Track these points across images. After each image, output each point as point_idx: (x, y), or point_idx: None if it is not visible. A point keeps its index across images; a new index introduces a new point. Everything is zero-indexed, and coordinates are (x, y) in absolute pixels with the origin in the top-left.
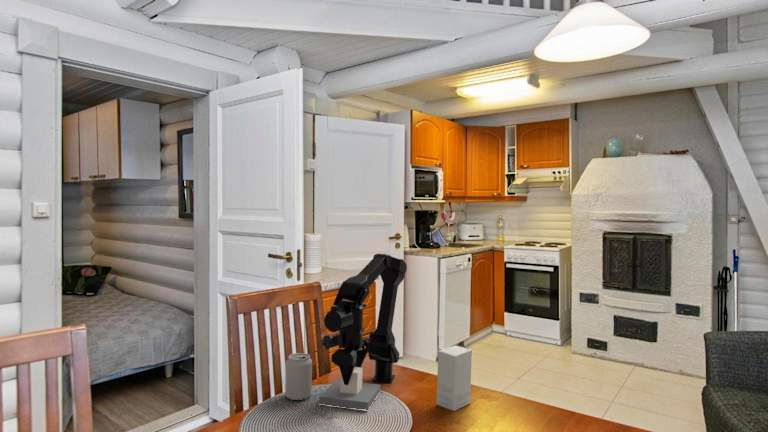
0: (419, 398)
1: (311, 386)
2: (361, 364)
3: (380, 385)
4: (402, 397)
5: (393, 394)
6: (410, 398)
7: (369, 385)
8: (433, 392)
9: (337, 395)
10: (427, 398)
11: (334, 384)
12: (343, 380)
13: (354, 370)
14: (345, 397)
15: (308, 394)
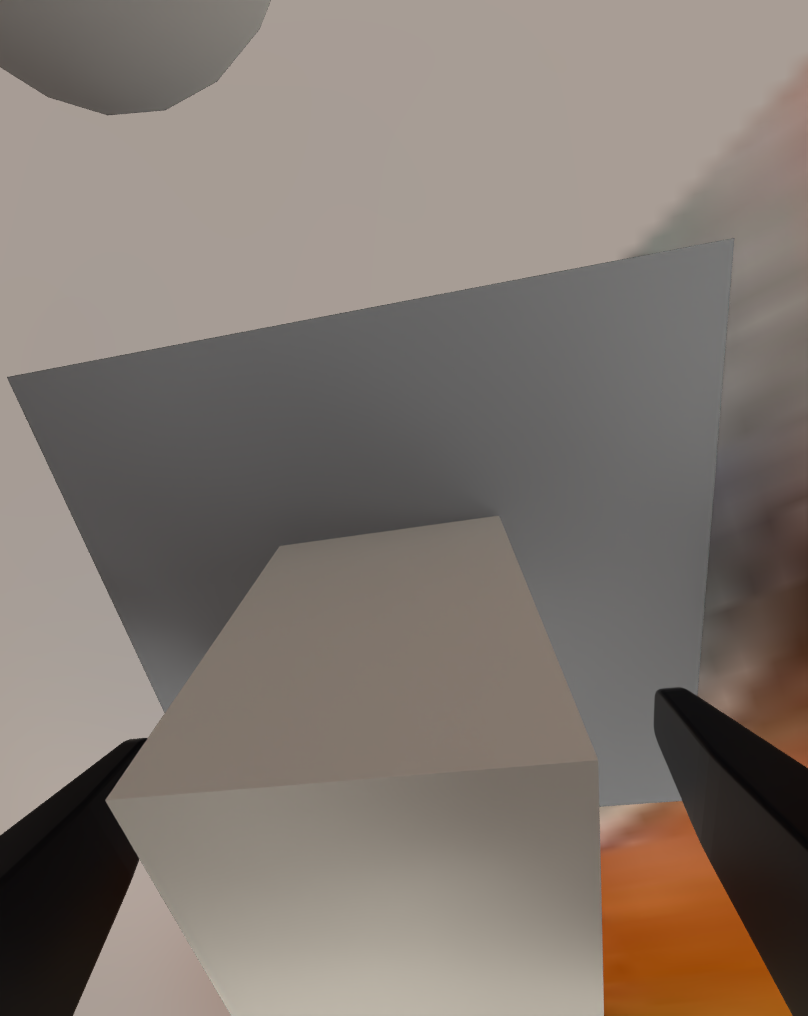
0: (630, 934)
1: (147, 9)
2: (795, 1014)
3: (679, 795)
4: (611, 862)
5: (652, 806)
6: (610, 899)
7: (629, 726)
8: (768, 972)
9: (185, 559)
10: (646, 963)
11: (503, 333)
12: (55, 799)
13: (352, 978)
14: (193, 651)
15: (82, 100)
